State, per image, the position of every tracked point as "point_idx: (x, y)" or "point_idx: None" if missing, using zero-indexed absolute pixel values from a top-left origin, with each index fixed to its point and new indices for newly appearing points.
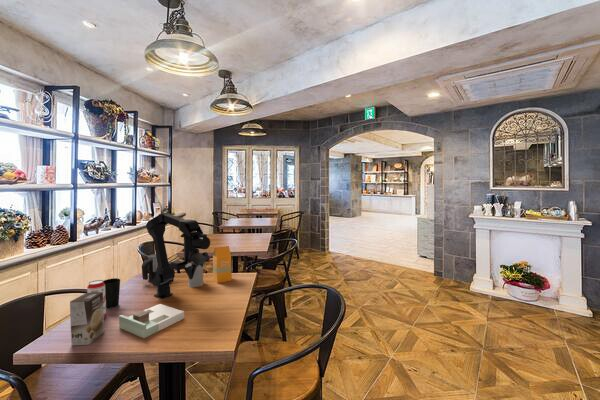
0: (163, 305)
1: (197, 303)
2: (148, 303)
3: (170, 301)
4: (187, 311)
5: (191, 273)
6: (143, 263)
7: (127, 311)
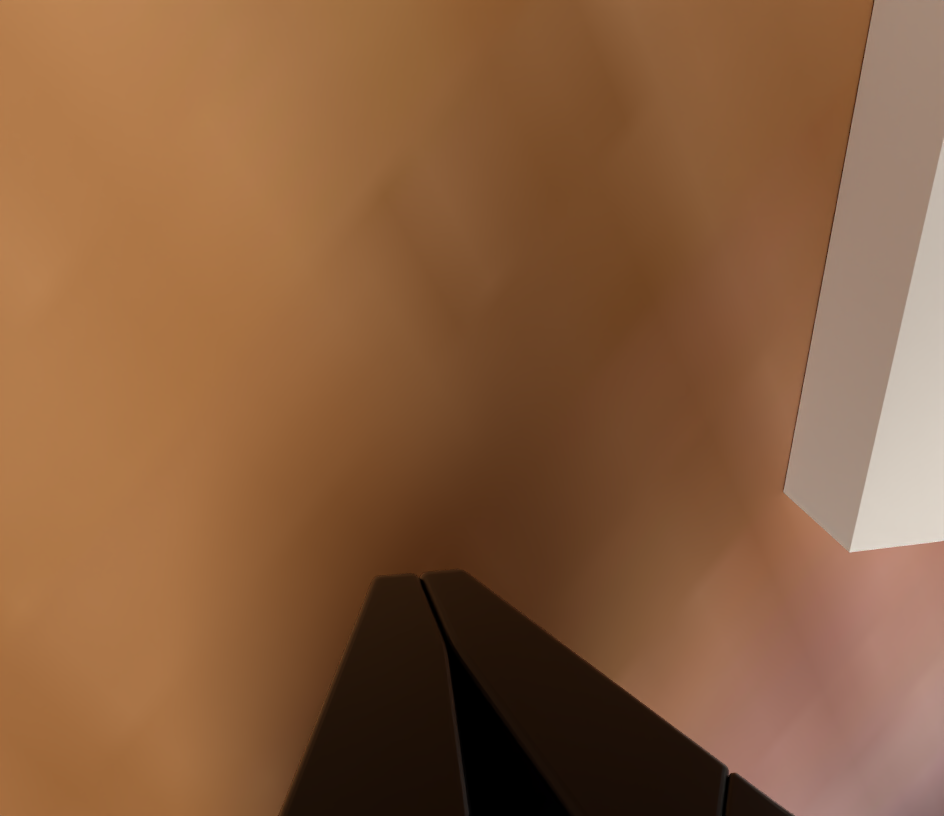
0: (889, 437)
1: (247, 154)
2: None
3: None
4: (646, 9)
5: (601, 763)
6: None
7: (929, 769)
